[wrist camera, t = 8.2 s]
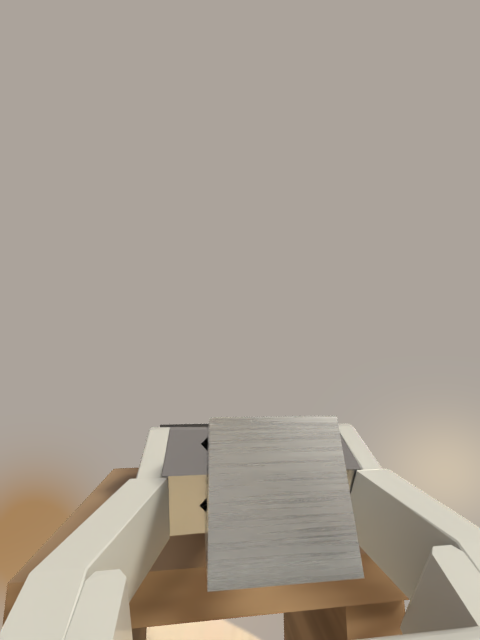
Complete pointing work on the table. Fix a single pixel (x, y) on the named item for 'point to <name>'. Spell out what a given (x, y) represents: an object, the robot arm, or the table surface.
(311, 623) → the walnut shelf
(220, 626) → the table surface
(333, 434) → the steel t handle
